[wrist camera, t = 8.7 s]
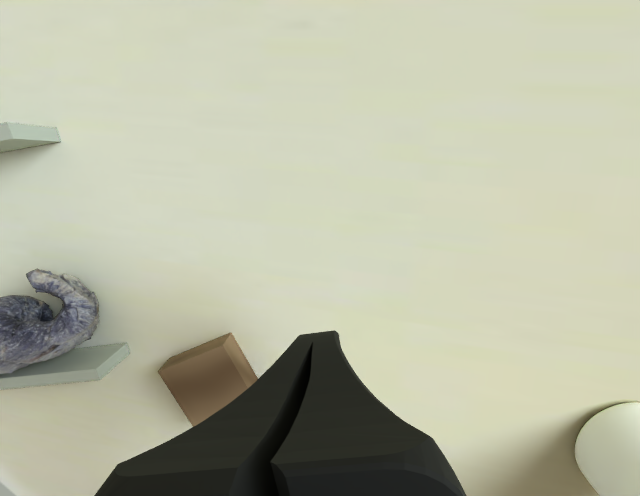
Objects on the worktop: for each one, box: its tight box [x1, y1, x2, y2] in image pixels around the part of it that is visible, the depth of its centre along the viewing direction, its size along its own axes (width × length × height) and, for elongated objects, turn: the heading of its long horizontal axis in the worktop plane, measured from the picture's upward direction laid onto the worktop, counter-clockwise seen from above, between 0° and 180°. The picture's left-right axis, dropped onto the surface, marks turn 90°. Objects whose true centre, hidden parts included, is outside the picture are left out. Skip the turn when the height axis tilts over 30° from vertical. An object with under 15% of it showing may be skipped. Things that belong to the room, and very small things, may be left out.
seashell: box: [0, 268, 99, 374], centre depth 21 cm, size 5×5×10 cm
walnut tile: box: [158, 333, 258, 427], centre depth 23 cm, size 5×5×2 cm
